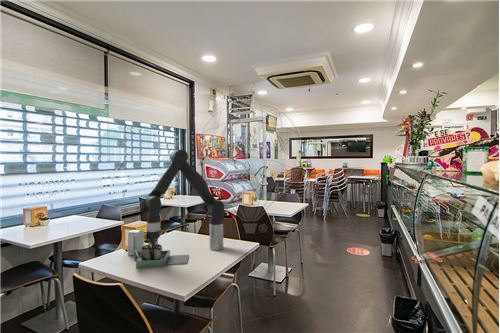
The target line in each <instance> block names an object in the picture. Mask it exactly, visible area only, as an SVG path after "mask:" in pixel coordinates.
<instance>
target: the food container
mask: <svg viewBox="0 0 500 333" xmlns="http://www.w3.org/2000/svg"><path fill="white" fill-rule="evenodd" d="M141 250H142V252H143V260H150V254H149V244H146V245H143V247H142V249H141ZM161 251H163V247H162V244H160V243H158V244H157V246H156V248H155V253H154V260H157V259H162V258H161ZM151 252H152V250H151Z"/></svg>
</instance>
